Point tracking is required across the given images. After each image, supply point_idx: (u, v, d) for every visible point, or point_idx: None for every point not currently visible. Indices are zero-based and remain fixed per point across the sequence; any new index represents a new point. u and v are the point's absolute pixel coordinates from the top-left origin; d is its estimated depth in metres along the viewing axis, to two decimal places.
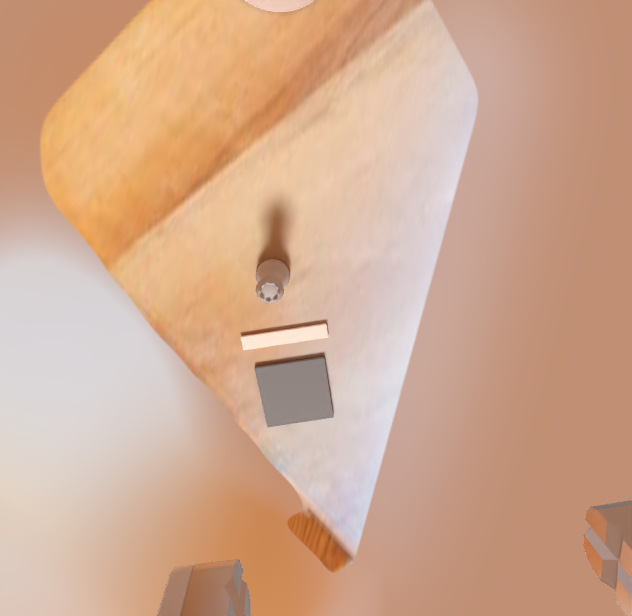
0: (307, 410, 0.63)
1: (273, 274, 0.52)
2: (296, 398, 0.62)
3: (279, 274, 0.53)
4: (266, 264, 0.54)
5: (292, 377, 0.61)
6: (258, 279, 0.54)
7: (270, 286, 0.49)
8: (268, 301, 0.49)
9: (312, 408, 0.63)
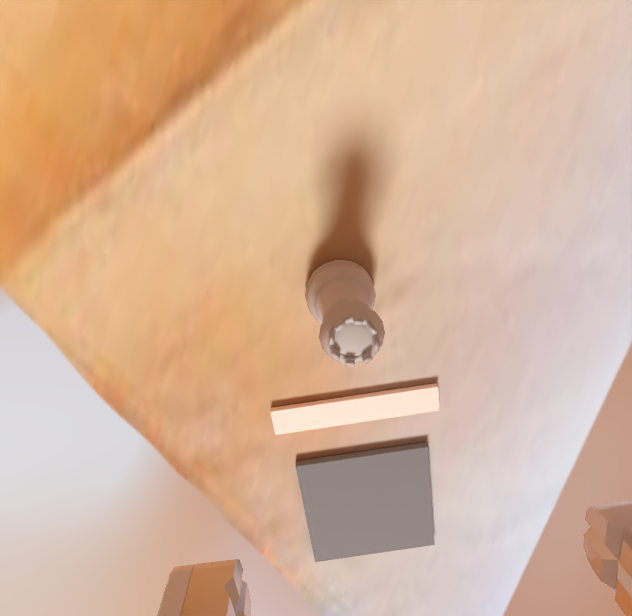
0: (388, 535, 0.34)
1: (352, 295, 0.23)
2: (371, 515, 0.34)
3: (362, 294, 0.24)
4: (331, 272, 0.25)
5: (365, 481, 0.32)
6: (313, 303, 0.26)
7: (357, 328, 0.20)
8: (350, 362, 0.20)
9: (398, 531, 0.34)
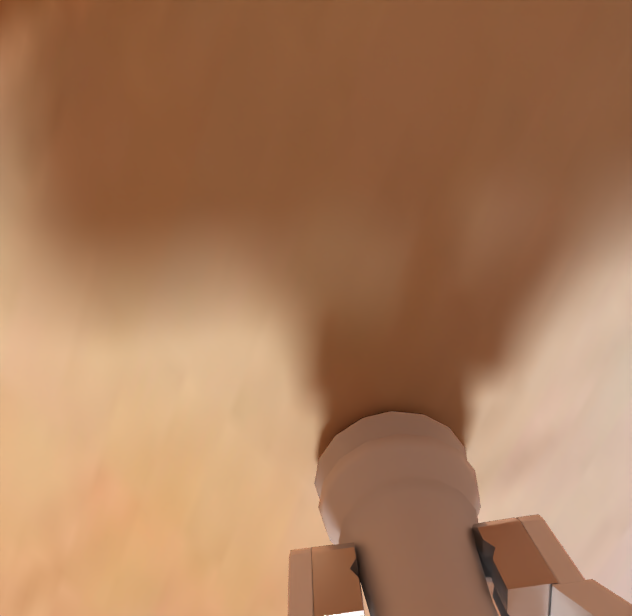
0: None
1: (454, 572, 0.08)
2: None
3: (468, 536, 0.09)
4: (381, 459, 0.10)
5: None
6: (336, 530, 0.11)
7: None
8: None
9: None
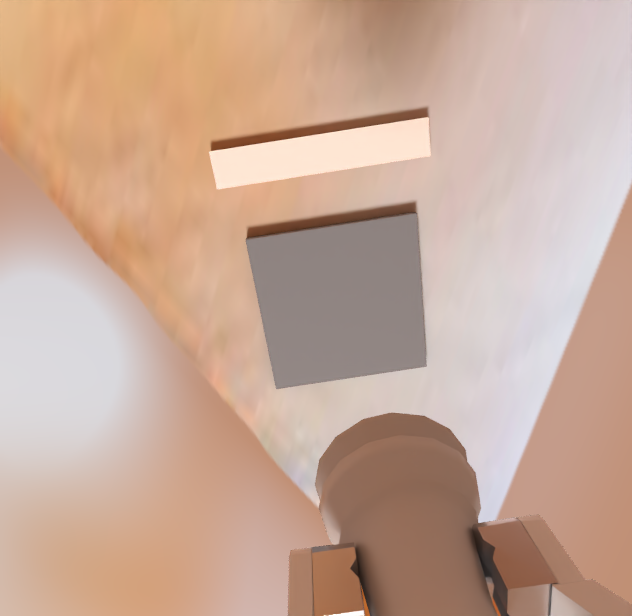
0: (368, 350, 0.27)
1: (454, 574, 0.08)
2: (345, 320, 0.26)
3: (468, 537, 0.09)
4: (382, 460, 0.10)
5: (337, 265, 0.25)
6: (336, 531, 0.11)
7: None
8: None
9: (380, 344, 0.27)
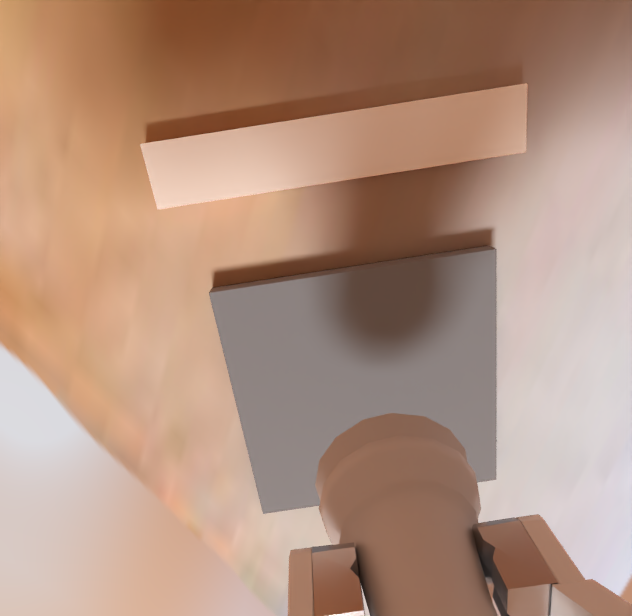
0: None
1: (455, 574, 0.08)
2: (372, 415, 0.17)
3: (468, 538, 0.09)
4: (382, 461, 0.10)
5: (360, 332, 0.15)
6: (336, 531, 0.11)
7: None
8: None
9: None
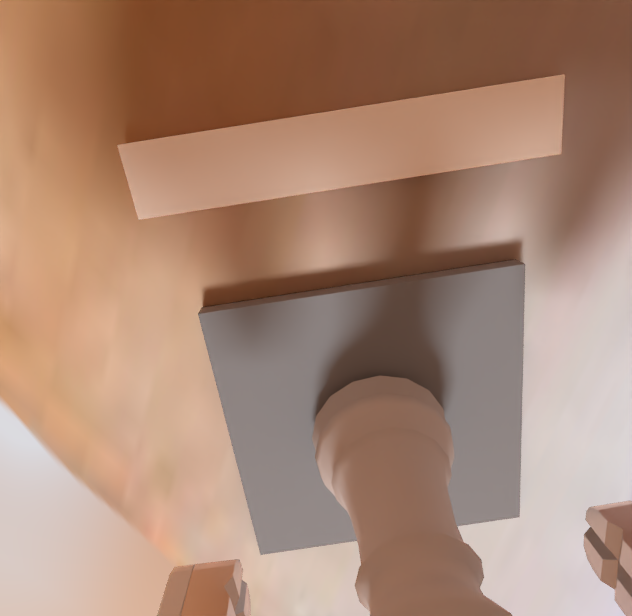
0: None
1: (424, 498, 0.10)
2: None
3: (438, 475, 0.11)
4: (368, 413, 0.12)
5: (370, 357, 0.14)
6: (329, 474, 0.12)
7: None
8: None
9: None
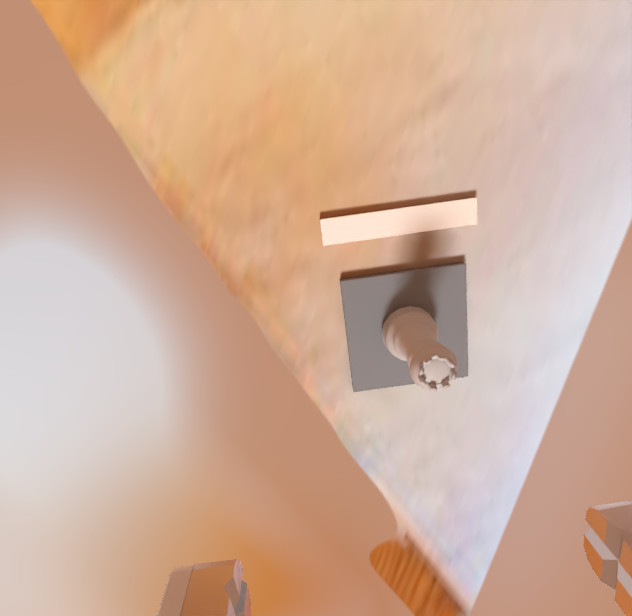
0: None
1: (428, 336, 0.31)
2: None
3: (432, 334, 0.32)
4: (407, 316, 0.33)
5: (405, 300, 0.34)
6: (391, 340, 0.33)
7: (439, 363, 0.28)
8: (433, 388, 0.28)
9: None
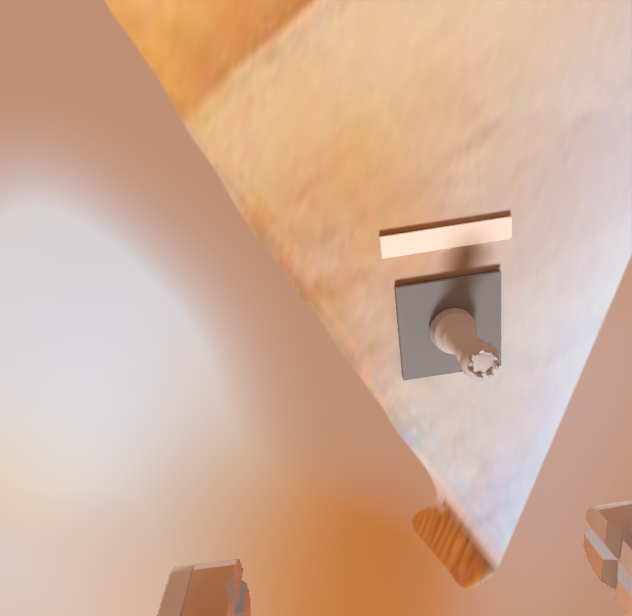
0: None
1: (472, 333, 0.37)
2: None
3: (475, 332, 0.38)
4: (452, 317, 0.39)
5: (449, 302, 0.41)
6: (439, 337, 0.39)
7: (485, 356, 0.34)
8: (480, 376, 0.34)
9: None
